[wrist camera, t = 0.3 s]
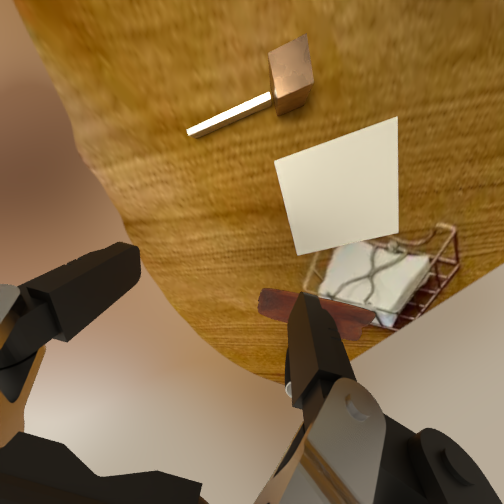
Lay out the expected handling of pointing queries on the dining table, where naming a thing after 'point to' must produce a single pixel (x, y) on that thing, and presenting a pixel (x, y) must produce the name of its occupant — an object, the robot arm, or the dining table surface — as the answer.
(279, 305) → the wooden tablet
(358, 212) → the plinth shelf
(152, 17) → the dining table surface
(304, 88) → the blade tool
